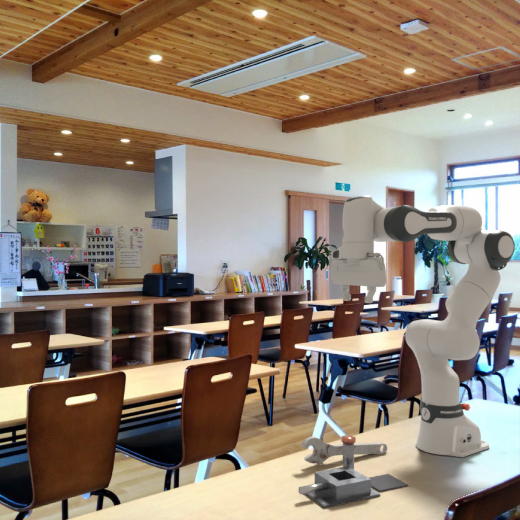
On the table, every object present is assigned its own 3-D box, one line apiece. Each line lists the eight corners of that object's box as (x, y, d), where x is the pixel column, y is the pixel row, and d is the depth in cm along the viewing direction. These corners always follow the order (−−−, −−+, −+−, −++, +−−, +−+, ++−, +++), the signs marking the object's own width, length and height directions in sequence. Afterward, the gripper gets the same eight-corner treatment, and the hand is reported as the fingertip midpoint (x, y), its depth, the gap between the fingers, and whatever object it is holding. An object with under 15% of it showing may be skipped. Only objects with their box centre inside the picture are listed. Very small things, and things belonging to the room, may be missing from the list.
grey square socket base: (351, 479, 152) (351, 463, 152) (379, 496, 142) (380, 479, 142) (288, 491, 144) (288, 475, 144) (313, 510, 133) (313, 492, 133)
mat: (388, 475, 155) (388, 473, 155) (408, 485, 148) (408, 484, 148) (360, 480, 151) (360, 479, 151) (379, 492, 144) (379, 490, 144)
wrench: (386, 462, 173) (302, 467, 159) (382, 460, 175) (298, 465, 161) (388, 435, 174) (305, 438, 160) (384, 433, 175) (301, 436, 161)
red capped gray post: (350, 471, 158) (350, 434, 158) (358, 475, 155) (358, 438, 155) (338, 473, 156) (338, 436, 156) (346, 478, 153) (346, 440, 153)
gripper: (392, 252, 156) (391, 304, 156) (344, 253, 174) (343, 299, 174) (374, 252, 153) (373, 304, 153) (327, 252, 170) (327, 299, 170)
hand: (357, 301), depth 163 cm, fingers open, 8 cm apart
